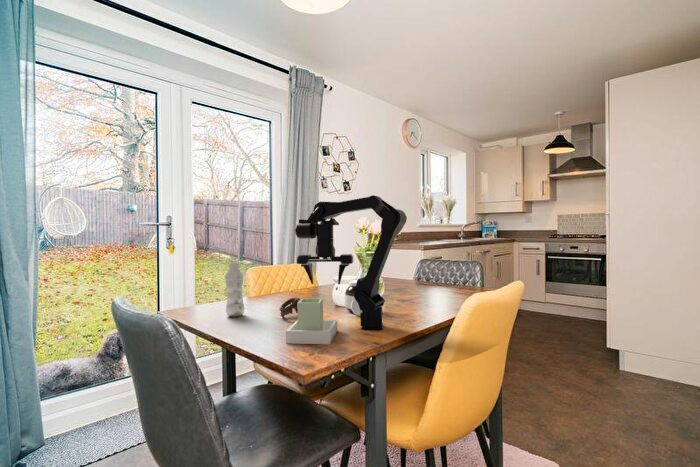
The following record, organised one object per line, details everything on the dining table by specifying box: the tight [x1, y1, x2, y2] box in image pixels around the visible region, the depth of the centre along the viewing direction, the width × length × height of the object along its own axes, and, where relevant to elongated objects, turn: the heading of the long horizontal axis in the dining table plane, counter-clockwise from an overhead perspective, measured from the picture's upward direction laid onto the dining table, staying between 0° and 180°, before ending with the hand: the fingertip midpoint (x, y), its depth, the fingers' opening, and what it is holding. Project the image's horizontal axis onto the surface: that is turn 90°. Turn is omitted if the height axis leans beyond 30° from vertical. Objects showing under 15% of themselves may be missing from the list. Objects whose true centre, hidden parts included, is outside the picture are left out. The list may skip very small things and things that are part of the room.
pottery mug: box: [279, 297, 301, 319], centre depth 130 cm, size 12×10×8 cm
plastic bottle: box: [224, 261, 245, 318], centre depth 132 cm, size 6×7×20 cm
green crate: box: [297, 298, 324, 331], centre depth 105 cm, size 6×6×10 cm
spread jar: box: [344, 279, 362, 317], centre depth 135 cm, size 12×11×12 cm
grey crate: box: [285, 319, 338, 345], centre depth 105 cm, size 13×13×4 cm
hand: (325, 284), depth 121 cm, fingers open, 9 cm apart
